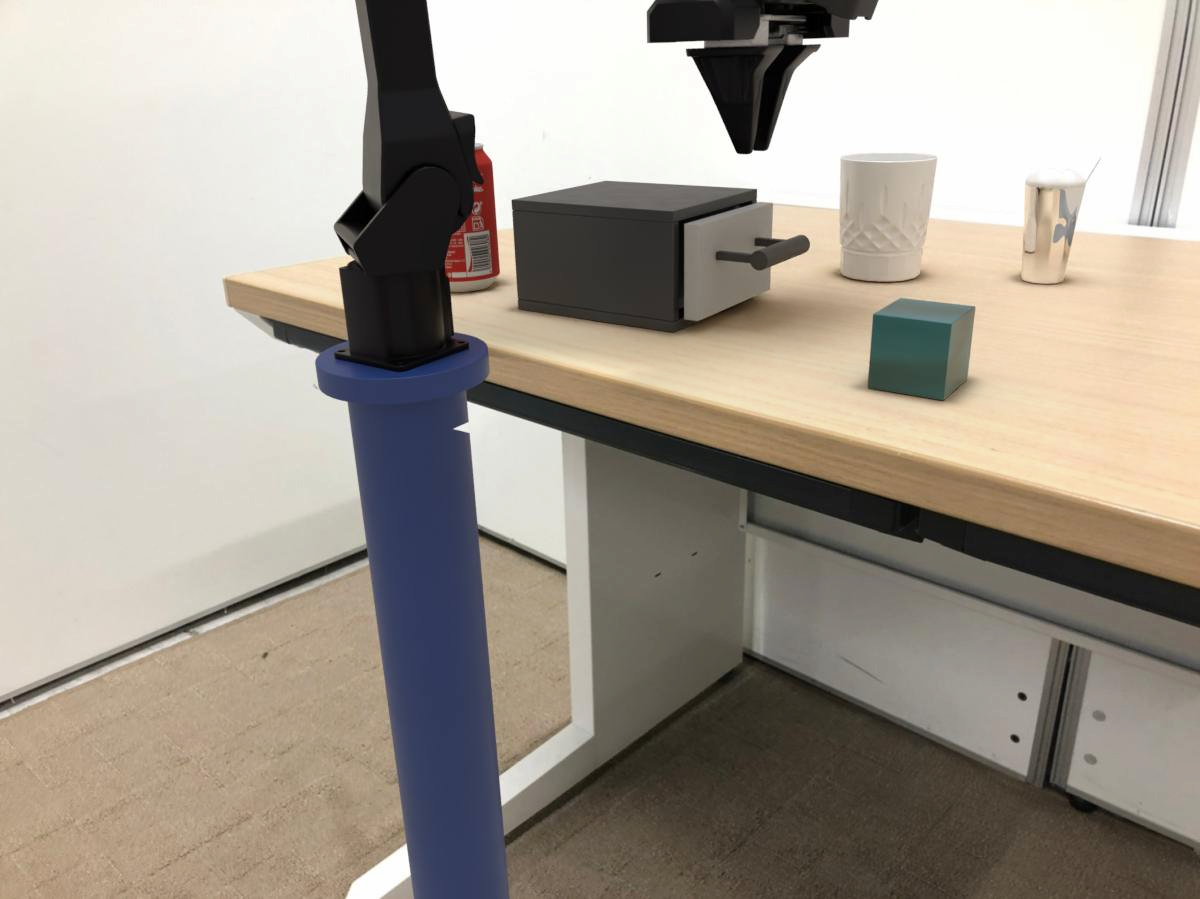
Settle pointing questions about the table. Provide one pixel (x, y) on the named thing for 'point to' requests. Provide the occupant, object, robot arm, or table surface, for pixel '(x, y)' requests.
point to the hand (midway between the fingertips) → (752, 152)
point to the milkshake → (1050, 222)
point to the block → (920, 347)
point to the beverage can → (476, 237)
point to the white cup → (884, 214)
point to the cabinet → (610, 249)
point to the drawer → (729, 257)
